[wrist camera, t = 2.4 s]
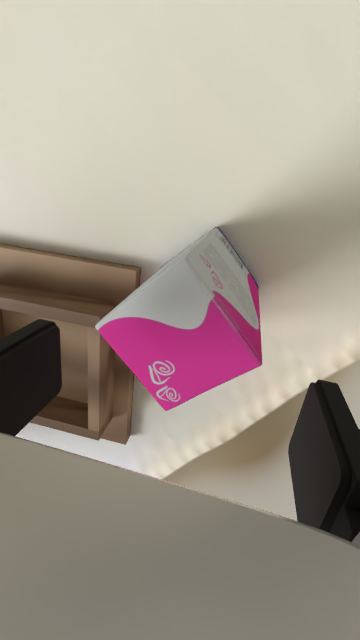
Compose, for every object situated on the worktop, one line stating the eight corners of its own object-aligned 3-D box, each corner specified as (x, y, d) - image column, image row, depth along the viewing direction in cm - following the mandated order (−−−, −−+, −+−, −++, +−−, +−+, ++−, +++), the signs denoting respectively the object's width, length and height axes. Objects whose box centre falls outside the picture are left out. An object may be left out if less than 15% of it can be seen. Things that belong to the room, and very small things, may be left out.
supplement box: (157, 269, 24) (88, 324, 14) (218, 224, 22) (190, 248, 11) (198, 326, 25) (164, 416, 15) (261, 288, 23) (271, 364, 13)
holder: (-22, 240, 26) (-67, 247, 23) (140, 267, 24) (120, 280, 20) (3, 403, 34) (-29, 429, 30) (129, 436, 31) (113, 468, 28)
